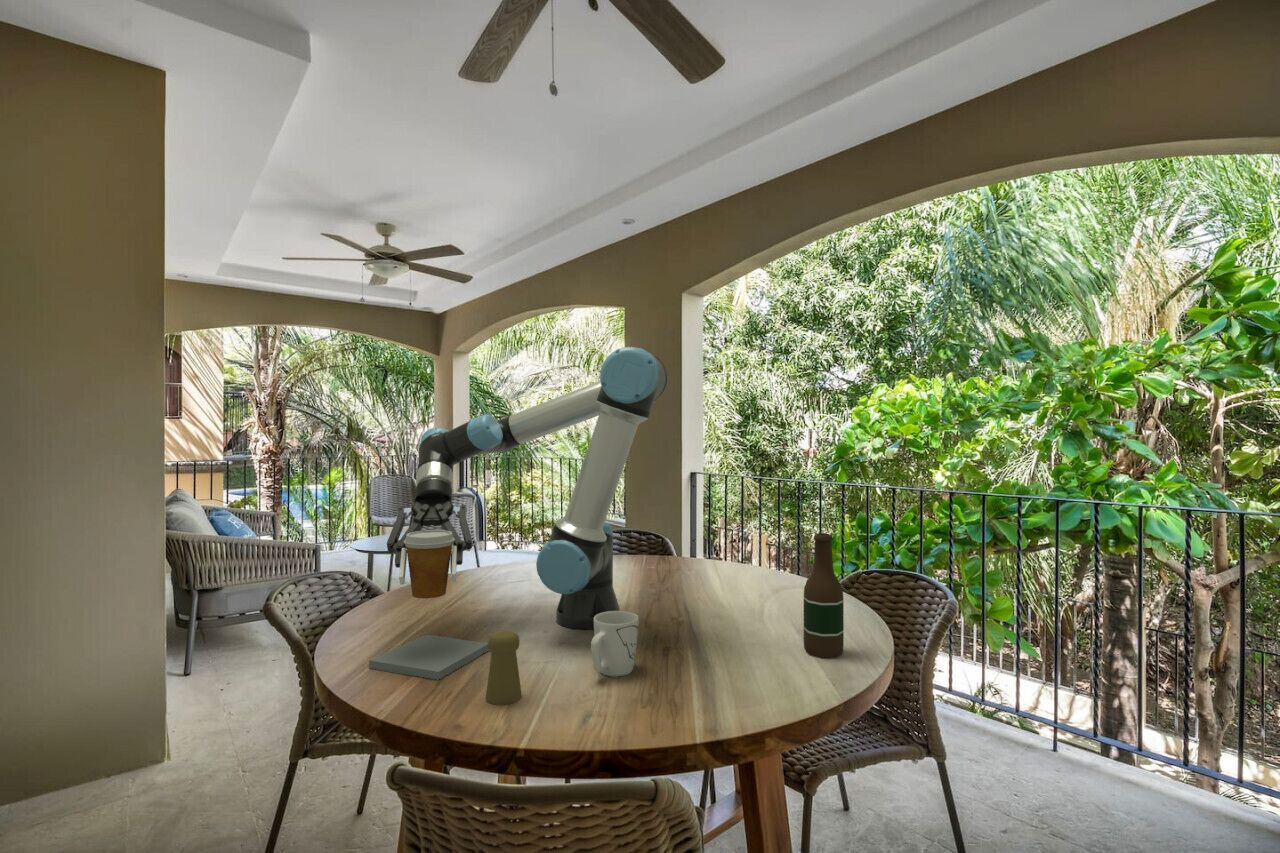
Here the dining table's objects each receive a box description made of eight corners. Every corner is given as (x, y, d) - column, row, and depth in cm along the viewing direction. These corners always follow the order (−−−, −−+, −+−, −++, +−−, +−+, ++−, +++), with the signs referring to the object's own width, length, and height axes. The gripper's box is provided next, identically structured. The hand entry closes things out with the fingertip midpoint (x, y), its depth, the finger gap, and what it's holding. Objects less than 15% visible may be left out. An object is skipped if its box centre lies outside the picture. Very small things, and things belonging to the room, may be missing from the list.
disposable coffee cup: (461, 589, 128) (462, 530, 128) (442, 602, 119) (442, 538, 119) (416, 587, 129) (417, 529, 129) (394, 600, 120) (394, 537, 120)
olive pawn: (488, 690, 109) (488, 626, 109) (523, 689, 110) (523, 626, 110) (482, 705, 103) (482, 638, 103) (519, 704, 104) (519, 637, 104)
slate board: (489, 650, 129) (489, 643, 129) (438, 680, 114) (438, 671, 114) (425, 641, 134) (425, 634, 134) (369, 668, 119) (369, 660, 119)
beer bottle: (843, 648, 130) (843, 532, 130) (843, 661, 123) (842, 538, 123) (805, 643, 133) (805, 530, 133) (802, 656, 125) (801, 536, 125)
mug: (612, 689, 110) (612, 631, 110) (574, 678, 114) (574, 623, 114) (647, 667, 120) (646, 615, 120) (610, 659, 124) (610, 608, 124)
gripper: (485, 498, 142) (485, 586, 126) (382, 500, 136) (369, 592, 121) (485, 476, 137) (486, 565, 121) (378, 477, 131) (365, 571, 116)
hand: (428, 579), depth 121 cm, fingers closed on disposable coffee cup, 9 cm apart
